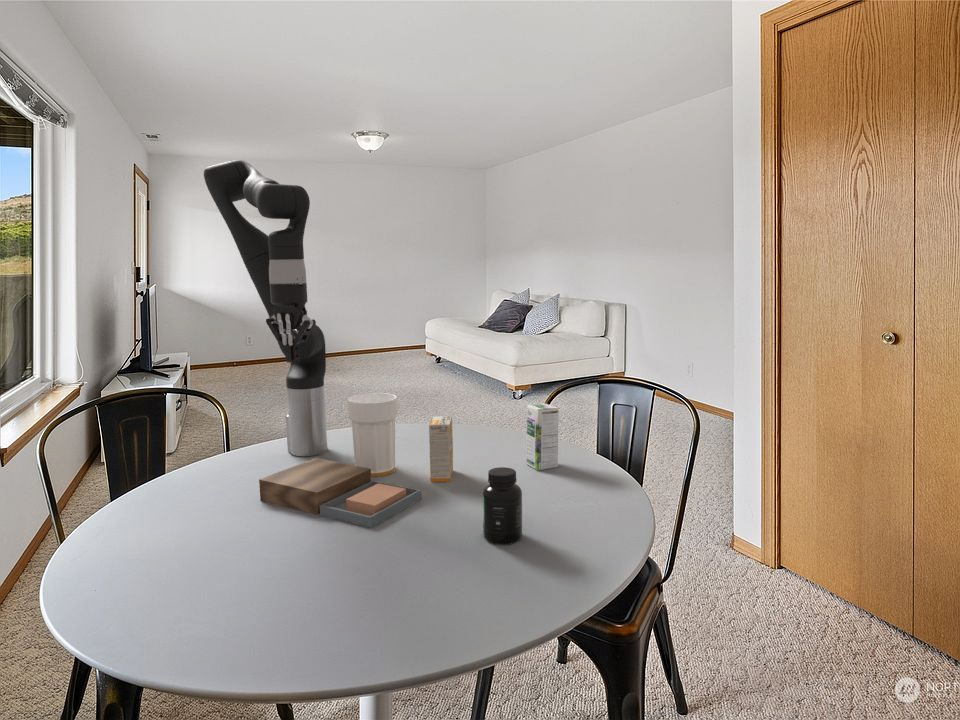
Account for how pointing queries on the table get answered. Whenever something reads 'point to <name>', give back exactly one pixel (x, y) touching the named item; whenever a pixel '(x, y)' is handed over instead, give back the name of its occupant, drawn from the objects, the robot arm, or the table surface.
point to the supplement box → (441, 448)
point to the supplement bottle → (502, 507)
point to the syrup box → (542, 436)
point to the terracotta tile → (374, 499)
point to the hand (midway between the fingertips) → (292, 362)
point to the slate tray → (339, 512)
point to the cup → (374, 431)
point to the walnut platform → (312, 484)
